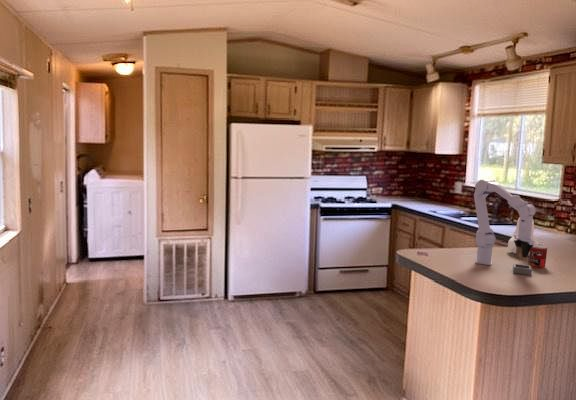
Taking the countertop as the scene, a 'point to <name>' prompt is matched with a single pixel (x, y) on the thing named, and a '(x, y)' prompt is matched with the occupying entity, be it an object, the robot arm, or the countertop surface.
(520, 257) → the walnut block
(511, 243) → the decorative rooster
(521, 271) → the well
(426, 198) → the countertop surface
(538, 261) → the canned food
